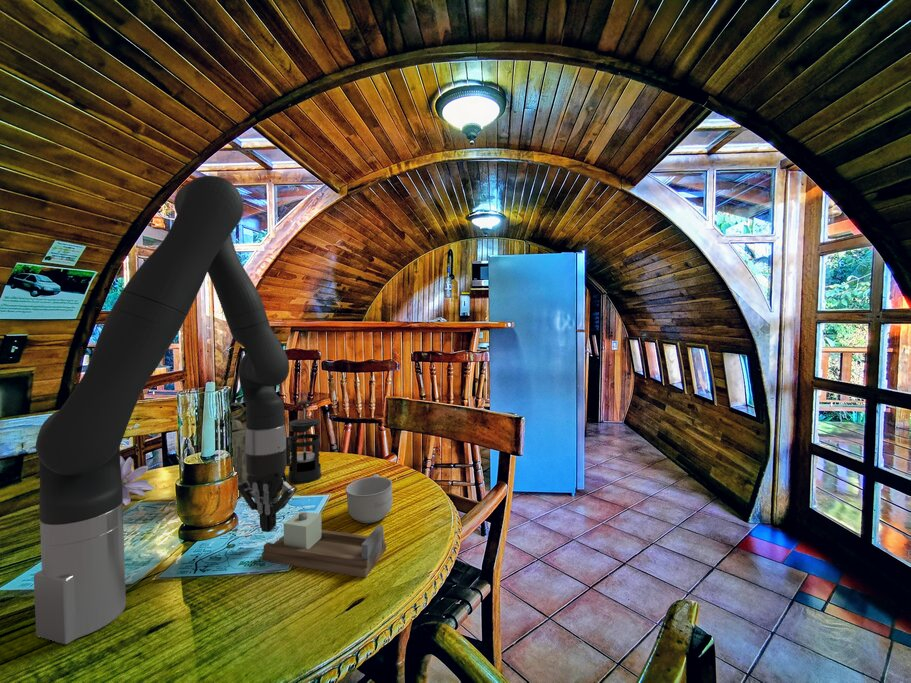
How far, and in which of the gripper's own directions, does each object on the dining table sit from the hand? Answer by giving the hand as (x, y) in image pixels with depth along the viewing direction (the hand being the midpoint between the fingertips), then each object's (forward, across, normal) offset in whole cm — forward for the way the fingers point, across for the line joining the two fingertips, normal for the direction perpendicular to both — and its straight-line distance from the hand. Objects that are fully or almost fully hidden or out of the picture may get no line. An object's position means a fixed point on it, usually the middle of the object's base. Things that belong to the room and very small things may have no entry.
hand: (268, 529), depth 81 cm
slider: (+2, +8, 0) cm, 8 cm away
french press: (+4, -15, +34) cm, 37 cm away
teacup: (+4, +15, +18) cm, 23 cm away
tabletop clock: (+4, -25, +18) cm, 31 cm away
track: (+3, +13, 0) cm, 14 cm away
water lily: (+4, -51, +10) cm, 52 cm away
